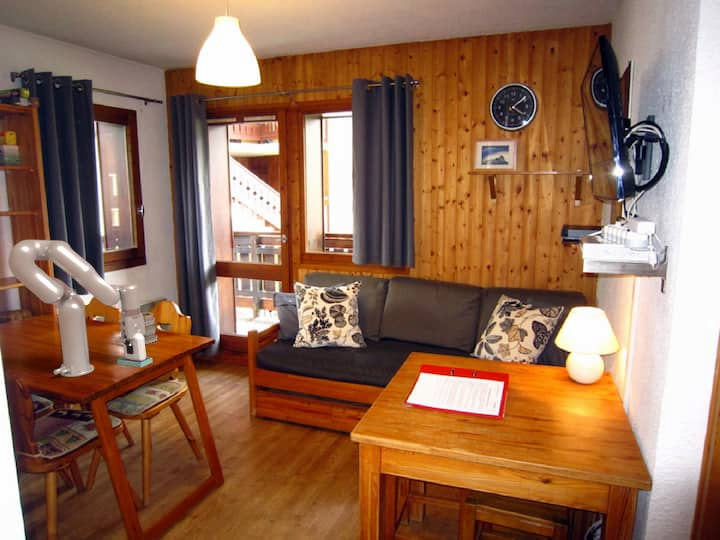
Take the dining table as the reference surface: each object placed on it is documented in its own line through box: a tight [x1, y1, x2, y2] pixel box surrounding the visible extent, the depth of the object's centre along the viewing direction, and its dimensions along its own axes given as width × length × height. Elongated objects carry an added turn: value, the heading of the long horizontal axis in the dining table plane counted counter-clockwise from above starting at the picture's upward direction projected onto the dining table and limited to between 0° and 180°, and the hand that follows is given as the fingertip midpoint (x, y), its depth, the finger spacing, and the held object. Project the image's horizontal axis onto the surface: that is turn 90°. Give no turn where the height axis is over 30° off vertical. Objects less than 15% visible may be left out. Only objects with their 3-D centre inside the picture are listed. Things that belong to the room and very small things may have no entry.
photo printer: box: [122, 333, 147, 362], centre depth 227 cm, size 10×4×12 cm, turn 66°
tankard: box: [117, 311, 159, 345], centre depth 255 cm, size 20×13×15 cm, turn 152°
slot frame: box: [117, 356, 153, 369], centre depth 228 cm, size 7×13×2 cm, turn 70°
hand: (134, 351), depth 227 cm, fingers closed on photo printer, 4 cm apart
